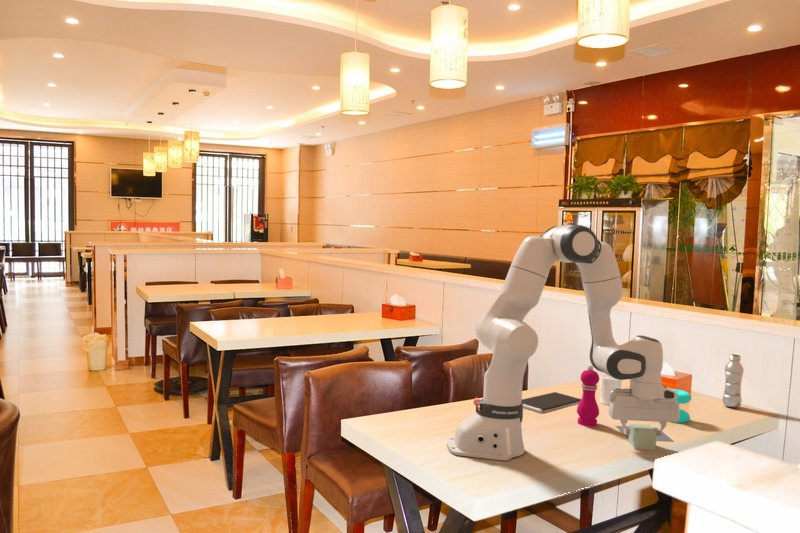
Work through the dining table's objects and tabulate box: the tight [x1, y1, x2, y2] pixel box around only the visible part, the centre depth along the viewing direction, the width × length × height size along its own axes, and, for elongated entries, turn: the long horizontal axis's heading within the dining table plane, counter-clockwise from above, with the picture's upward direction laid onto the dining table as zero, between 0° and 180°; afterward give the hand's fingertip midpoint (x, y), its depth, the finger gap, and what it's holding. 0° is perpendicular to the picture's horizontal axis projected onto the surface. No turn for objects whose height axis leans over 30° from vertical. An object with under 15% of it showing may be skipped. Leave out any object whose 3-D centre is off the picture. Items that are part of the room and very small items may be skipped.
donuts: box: [671, 388, 692, 424], centre depth 217 cm, size 10×10×10 cm
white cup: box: [599, 374, 623, 406], centre depth 235 cm, size 8×8×10 cm
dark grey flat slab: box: [522, 391, 582, 414], centre depth 232 cm, size 13×27×2 cm, turn 130°
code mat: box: [615, 425, 675, 443], centre depth 200 cm, size 14×14×1 cm
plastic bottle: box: [722, 353, 744, 409], centre depth 236 cm, size 6×7×20 cm
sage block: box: [627, 423, 657, 451], centre depth 188 cm, size 6×6×6 cm
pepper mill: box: [576, 365, 600, 428], centre depth 207 cm, size 7×7×20 cm
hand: (642, 434), depth 188 cm, fingers open, 8 cm apart
